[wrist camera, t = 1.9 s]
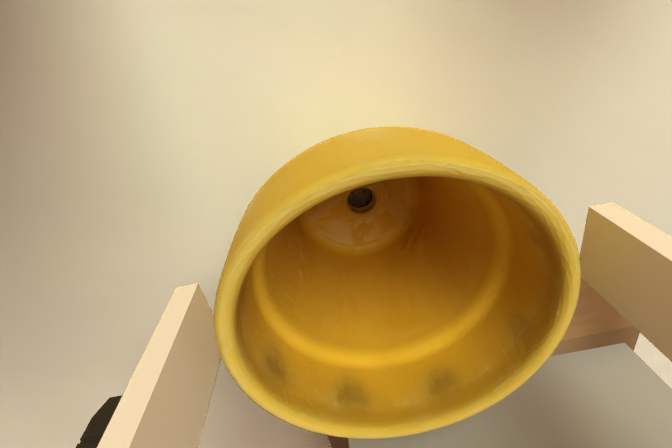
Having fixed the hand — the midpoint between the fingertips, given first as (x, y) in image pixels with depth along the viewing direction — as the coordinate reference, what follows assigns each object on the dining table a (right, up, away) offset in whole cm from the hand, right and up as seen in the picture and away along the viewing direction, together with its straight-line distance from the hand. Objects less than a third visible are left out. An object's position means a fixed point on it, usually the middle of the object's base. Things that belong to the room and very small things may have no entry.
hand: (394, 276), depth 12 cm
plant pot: (-1, +3, +6) cm, 7 cm away
